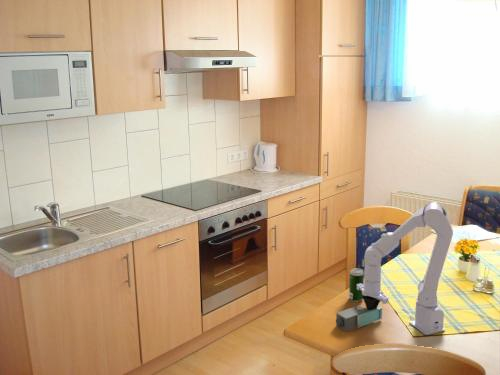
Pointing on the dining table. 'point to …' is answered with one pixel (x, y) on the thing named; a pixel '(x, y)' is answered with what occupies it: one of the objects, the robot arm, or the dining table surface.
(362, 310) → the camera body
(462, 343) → the dining table surface
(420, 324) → the robot arm
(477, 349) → the dining table surface
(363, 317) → the side door
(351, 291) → the beer can
